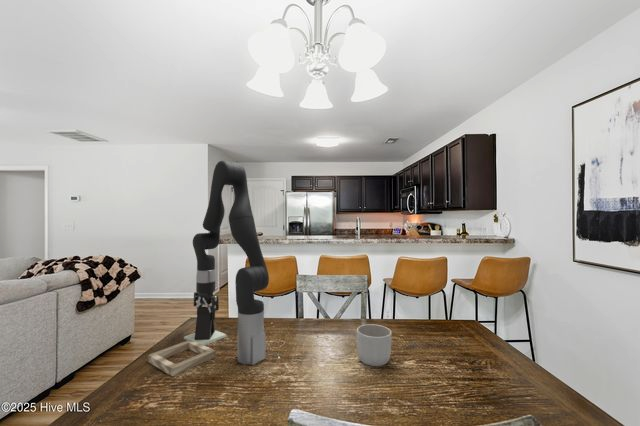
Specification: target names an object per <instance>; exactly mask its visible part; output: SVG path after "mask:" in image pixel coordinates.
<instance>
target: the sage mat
mask: <svg viewBox="0 0 640 426" xmlns="http://www.w3.org/2000/svg"><path fill="white" fill-rule="evenodd" d="M223 338H224V339H225V338H227V333H224V332H221V331H218V330H216V329H215V332H214V334H213V335H212V337H211V338H210V339H207V340H194V339H195V332H194V333H191V334H187V335H185V336H183V340H185V341H188V340H193V341H195V342H197V343H200V344H202V345H204V346H206V345H208V344H209V345H210V344H211V343H213V342H217V341H219V340H222V339H223Z"/></svg>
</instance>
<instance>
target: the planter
mask: <svg viewBox="0 0 640 426" xmlns="http://www.w3.org/2000/svg"><path fill="white" fill-rule="evenodd" d="M392 334H393V332H392V330H391V329H390V328H388V327H386V326H384V325H381V324H373V323H372V324H371V323H369V324H362V325H359V326H358V327H357V328H356V348H357V356H358V358H359V360H360V361H361V362H362V363H364V364H365V365H367V366H370V367H381V366H384V365H386V364H388V362H389V361H390V359H391V352H392Z"/></svg>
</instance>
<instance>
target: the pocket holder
mask: <svg viewBox="0 0 640 426" xmlns="http://www.w3.org/2000/svg"><path fill="white" fill-rule="evenodd" d="M187 350H190V351H191V352H194V353H196V355H194V356H191V357H190V358H187V359H184V360H182V361H179V362H177V363H174V362H172V361H170V360H168V359H167V358H169V357H172V356H174V355H176V354H179V353H182V352H184V351H187ZM215 358H216V350H215V349H213V348H211V347H208V346H206V345H202V344H200V343H197V342H195V341H193V340H188V341H187V340H185V341H183V342H182V341H181V342H180V343H176V344H174V345H172V346H169V347H166V348H163V349H161V350H157V351H154V352H151V353H150V354H148V355H147V362H148V363H149V364H151V365H152V366H154V367H155V368H157V369H159V370H161V371H162V372H164V373H166V374H167V375H169V376H170V377H174V376H177V375H179V374H181V373H183V372H186V371H187V370H190V369H193V368H195V367H196V366H199V365H202V364H203V363H206V362H208V361H209V360H212V359H215Z"/></svg>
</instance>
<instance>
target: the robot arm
mask: <svg viewBox="0 0 640 426" xmlns="http://www.w3.org/2000/svg"><path fill="white" fill-rule="evenodd" d="M225 186H232V188H233V192H234V199H233V203H232V206H231V209H230V211H229V214H228V225H229V228H230V233H231V235H232V237H233V239H234V241H235V242H236V243H237V244H238V246H239V247H240V248H241V249H242V251H243V252H244V253H245V255H246V257H247V260H248V263H249V266H246V267H240V268H239V269H238V270H237V272H236V275H235V301H236V306H237V344H236V345H237V352H236V353H237V362H238V363H240V364H243V365H251V366H252V365H256V364H257V363H259V362H261V361H264V360H265V359H266V343H267V342H266V336H267V335H266V331H264V326H265V324H264V322H265V315H264V314H265V304H264V302H263V301H262V300H260V299H255V295H254V293H255V292H259V291H263V290H265V289H266V288H267V287H268V285H269V282H270V278H269V276H270V275H269V271H268V269H267V265H266V262H265V259H264V256H263V252H262V249H261V246H260V241H259V238H258V233H257V229H256V221H255V218H254V214H253V210H252V206H251V201H250V196H249V195H250V194H249V189H248V187H249V185H248V180H247V173H246V169H245V167H244V166H243V165H242V164H241V163H238V162H233V161H229V160H228V161H227V160H220V161H219V162H217V163H216V164H215V167H214V169H213V174H212V180H211V186H210V192H209V193H210V195H209V201H208V205H207V209H206V213H205V216H204V218H203V222H202V227H203V229H204V230H206V231H208V232H200V233H196V234H195V235H194V236H193V238H192V247H193V250H194V252H195V257H196V261H197V262H196V278H195V279H196V284H195V285H196V287H195V290H196V291H195V292H193V307H195V309H196V310H197V309H198V307H204V306H205V307H207V308H208V309H209V321H214V322H215V320H216V312H217V311H219V309H220V308H219V305H220V302H219V295H214V292H215V291H216V268H215V267H216V258H215V256H214V255H211V254H207V253H206V251H207V250H214V249H216V248H217V247H218V246H219V244H220V242H221V241H220V239H221V226H222V223H223V220H224V218H225V212H226V211H225V205H224V201H223V190H224V187H225ZM211 307H212V309H211Z"/></svg>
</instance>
